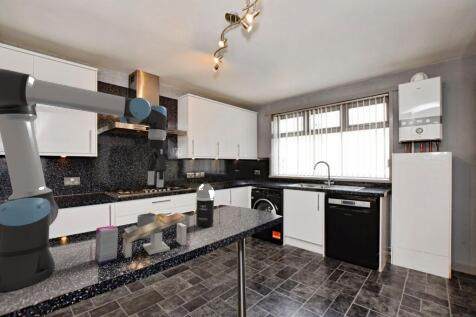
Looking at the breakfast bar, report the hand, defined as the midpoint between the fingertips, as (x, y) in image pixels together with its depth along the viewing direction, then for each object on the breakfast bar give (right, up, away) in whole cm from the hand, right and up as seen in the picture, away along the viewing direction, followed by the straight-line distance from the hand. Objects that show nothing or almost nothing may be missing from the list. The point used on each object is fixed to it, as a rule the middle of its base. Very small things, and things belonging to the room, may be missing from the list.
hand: (155, 185), depth 101 cm
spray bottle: (+19, -26, +26) cm, 41 cm away
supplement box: (-11, -25, -20) cm, 33 cm away
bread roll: (-7, -26, +23) cm, 35 cm away
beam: (+4, -17, -9) cm, 19 cm away
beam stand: (+4, -25, -9) cm, 27 cm away
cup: (-7, -26, +7) cm, 27 cm away
